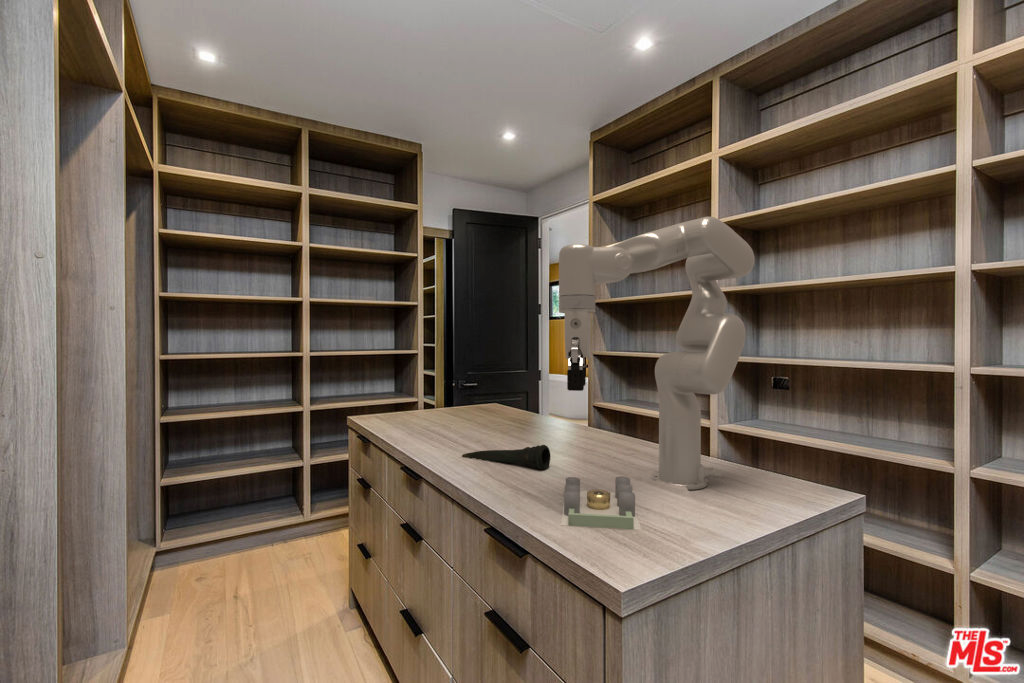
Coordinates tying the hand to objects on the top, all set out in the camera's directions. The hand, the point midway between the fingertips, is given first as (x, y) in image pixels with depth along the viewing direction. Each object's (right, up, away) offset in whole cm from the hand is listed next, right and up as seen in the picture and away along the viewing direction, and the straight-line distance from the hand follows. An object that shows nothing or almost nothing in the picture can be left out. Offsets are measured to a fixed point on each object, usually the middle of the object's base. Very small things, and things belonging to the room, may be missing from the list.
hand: (576, 387), depth 99 cm
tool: (-16, -25, +34) cm, 45 cm away
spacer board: (+4, -25, -5) cm, 25 cm away
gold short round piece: (+4, -23, -4) cm, 24 cm away
